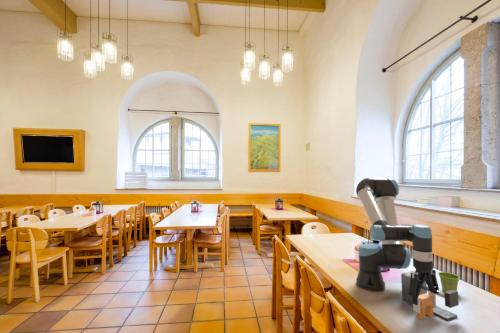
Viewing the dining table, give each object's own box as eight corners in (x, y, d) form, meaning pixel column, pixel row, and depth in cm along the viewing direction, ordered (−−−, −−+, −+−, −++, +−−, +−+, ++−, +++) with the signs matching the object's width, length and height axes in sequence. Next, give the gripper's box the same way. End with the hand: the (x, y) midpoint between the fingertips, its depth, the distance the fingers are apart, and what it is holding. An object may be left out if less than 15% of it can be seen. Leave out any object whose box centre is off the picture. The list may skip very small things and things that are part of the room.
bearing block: (402, 300, 125) (401, 273, 126) (415, 296, 129) (414, 270, 129) (445, 321, 107) (443, 290, 107) (459, 316, 110) (458, 286, 111)
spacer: (416, 316, 111) (415, 296, 111) (426, 313, 113) (425, 293, 114) (423, 319, 108) (422, 299, 108) (433, 316, 111) (432, 296, 111)
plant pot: (450, 287, 139) (449, 271, 140) (465, 295, 130) (464, 278, 130) (434, 287, 139) (433, 272, 139) (448, 295, 129) (447, 279, 130)
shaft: (416, 292, 121) (415, 280, 121) (424, 290, 123) (423, 278, 123) (450, 307, 107) (449, 293, 107) (458, 305, 109) (458, 291, 109)
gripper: (413, 265, 104) (416, 318, 103) (447, 258, 112) (449, 308, 111) (397, 260, 111) (399, 310, 110) (430, 254, 119) (432, 300, 118)
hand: (424, 309), depth 111 cm, fingers open, 10 cm apart
